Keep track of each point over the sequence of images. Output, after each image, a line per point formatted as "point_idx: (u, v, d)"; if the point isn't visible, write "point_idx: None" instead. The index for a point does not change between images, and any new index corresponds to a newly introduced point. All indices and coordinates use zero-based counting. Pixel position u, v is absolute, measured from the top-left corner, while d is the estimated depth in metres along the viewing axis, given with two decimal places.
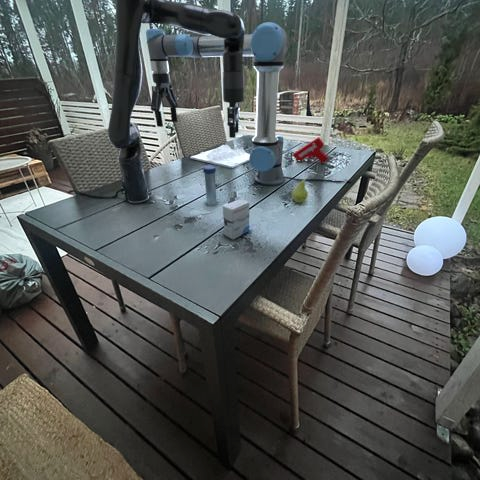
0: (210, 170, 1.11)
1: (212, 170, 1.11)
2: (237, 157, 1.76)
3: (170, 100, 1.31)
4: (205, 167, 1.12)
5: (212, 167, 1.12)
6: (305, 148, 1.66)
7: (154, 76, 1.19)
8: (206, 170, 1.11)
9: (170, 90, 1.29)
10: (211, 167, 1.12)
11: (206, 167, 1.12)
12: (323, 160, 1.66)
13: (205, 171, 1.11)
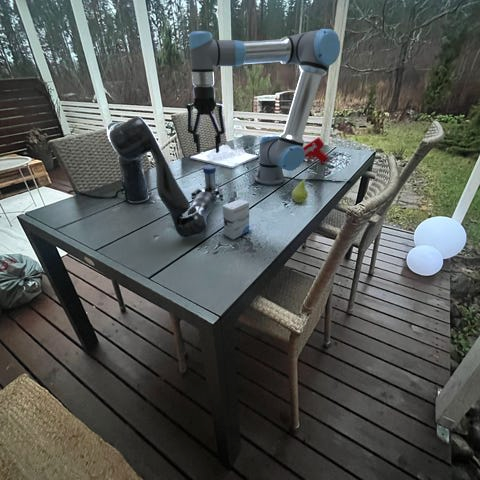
0: (210, 170, 1.11)
1: (212, 170, 1.11)
2: (237, 157, 1.76)
3: None
4: (205, 167, 1.12)
5: (212, 167, 1.12)
6: (305, 148, 1.66)
7: None
8: (206, 170, 1.11)
9: None
10: (211, 167, 1.12)
11: (206, 167, 1.12)
12: (323, 160, 1.66)
13: (205, 171, 1.11)
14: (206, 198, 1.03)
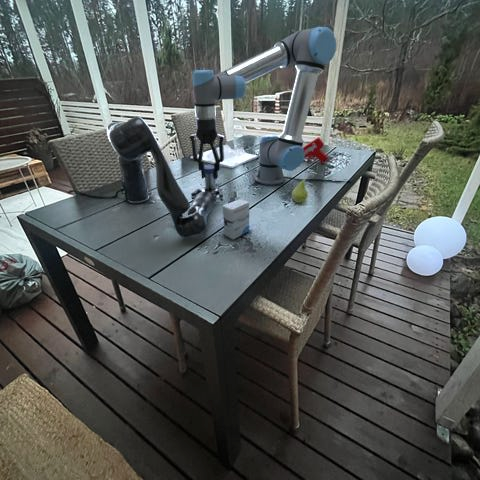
0: (210, 170, 1.11)
1: (212, 170, 1.11)
2: (237, 157, 1.76)
3: None
4: (205, 167, 1.12)
5: (212, 167, 1.12)
6: (305, 148, 1.66)
7: None
8: (206, 170, 1.11)
9: (219, 141, 1.06)
10: (211, 167, 1.12)
11: (206, 167, 1.12)
12: (323, 160, 1.66)
13: (205, 171, 1.11)
14: (206, 198, 1.03)
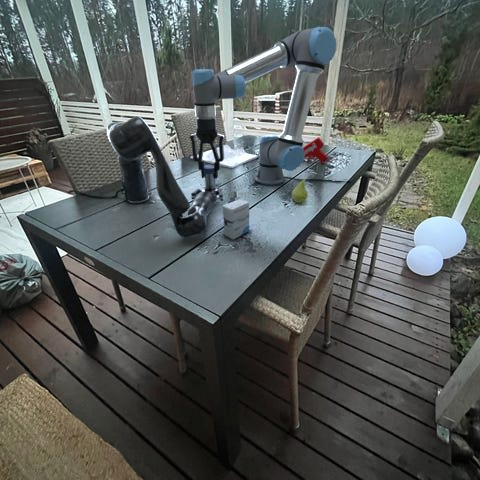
0: None
1: None
2: (237, 157, 1.76)
3: None
4: (207, 167, 1.11)
5: (211, 166, 1.13)
6: (305, 148, 1.66)
7: None
8: (212, 169, 1.11)
9: (219, 141, 1.06)
10: (211, 166, 1.13)
11: (208, 167, 1.11)
12: (323, 160, 1.66)
13: (211, 171, 1.11)
14: (206, 198, 1.03)
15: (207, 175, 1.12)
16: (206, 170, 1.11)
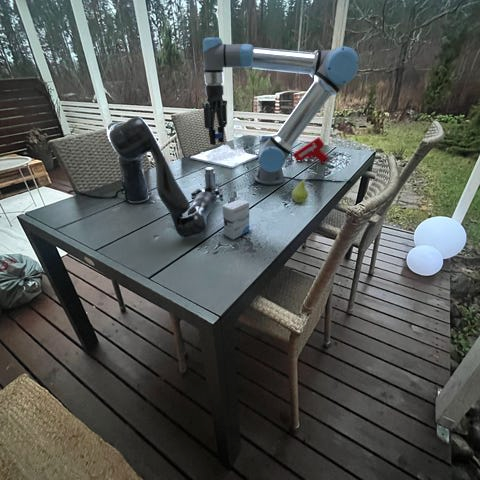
0: None
1: None
2: (237, 157, 1.76)
3: (219, 116, 1.19)
4: (218, 133, 1.20)
5: (215, 132, 1.22)
6: (305, 148, 1.66)
7: (206, 88, 1.10)
8: (221, 134, 1.22)
9: (223, 106, 1.19)
10: (216, 132, 1.22)
11: (218, 133, 1.21)
12: (323, 160, 1.66)
13: None
14: (206, 198, 1.03)
15: (207, 175, 1.12)
16: (219, 135, 1.20)
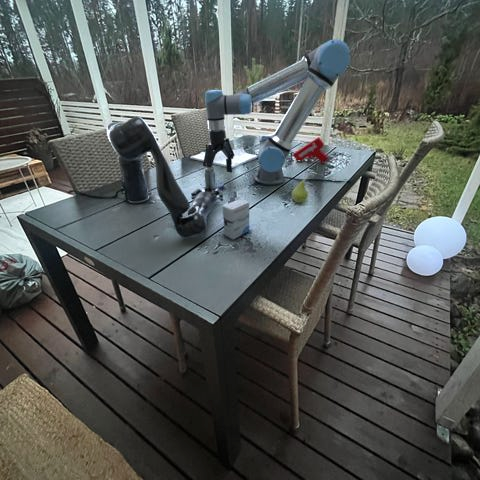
0: None
1: None
2: (237, 157, 1.76)
3: (225, 153, 1.30)
4: (220, 185, 1.34)
5: (217, 183, 1.36)
6: (305, 148, 1.66)
7: (209, 134, 1.19)
8: (223, 185, 1.35)
9: (226, 143, 1.28)
10: (218, 184, 1.35)
11: (220, 185, 1.34)
12: (323, 160, 1.66)
13: (223, 187, 1.35)
14: (206, 198, 1.03)
15: (207, 175, 1.12)
16: (221, 187, 1.33)
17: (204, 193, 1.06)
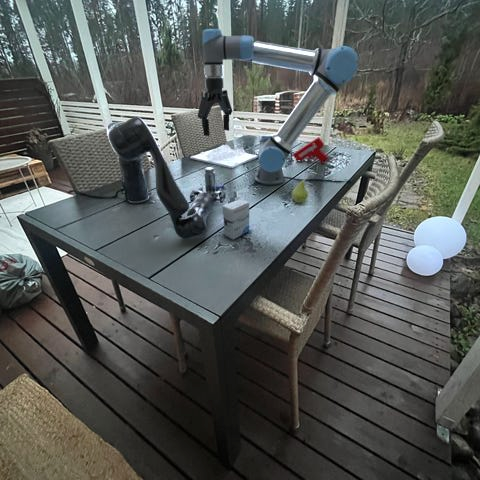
0: None
1: None
2: (237, 157, 1.76)
3: (223, 107, 1.19)
4: (220, 185, 1.34)
5: (217, 183, 1.36)
6: (305, 148, 1.66)
7: (206, 81, 1.08)
8: (223, 185, 1.35)
9: (224, 96, 1.17)
10: (218, 184, 1.35)
11: (220, 185, 1.34)
12: (323, 160, 1.66)
13: (223, 187, 1.35)
14: (206, 199, 1.02)
15: (207, 175, 1.12)
16: (221, 187, 1.33)
17: (204, 194, 1.05)
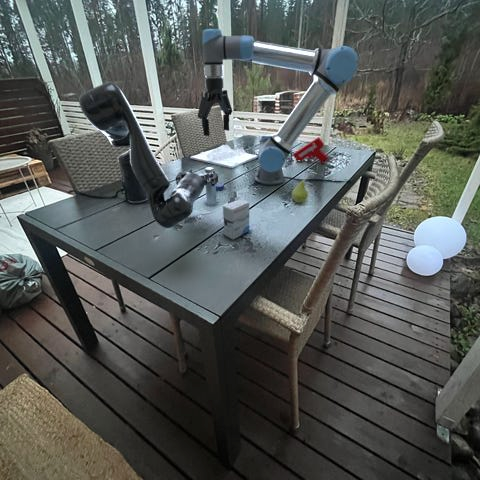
0: None
1: None
2: (237, 157, 1.76)
3: (223, 107, 1.19)
4: (220, 185, 1.34)
5: (217, 183, 1.36)
6: (305, 148, 1.66)
7: (206, 81, 1.08)
8: (223, 185, 1.35)
9: (224, 96, 1.17)
10: (218, 184, 1.35)
11: (220, 185, 1.34)
12: (323, 160, 1.66)
13: (223, 187, 1.35)
14: (193, 180, 0.85)
15: None
16: (221, 187, 1.33)
17: (191, 175, 0.88)
